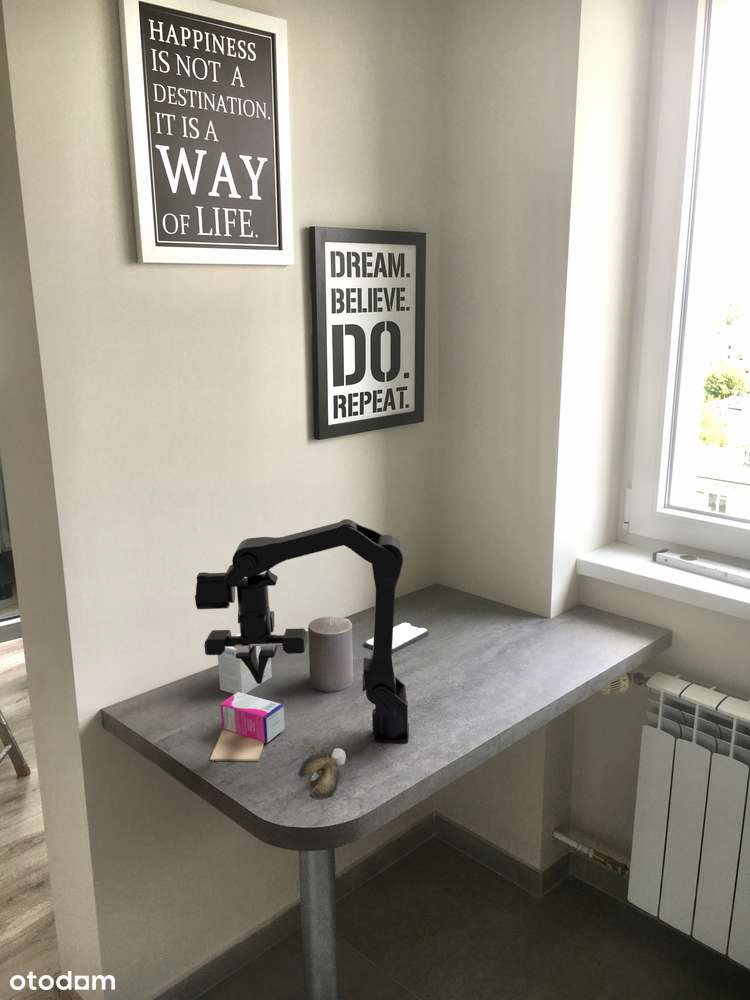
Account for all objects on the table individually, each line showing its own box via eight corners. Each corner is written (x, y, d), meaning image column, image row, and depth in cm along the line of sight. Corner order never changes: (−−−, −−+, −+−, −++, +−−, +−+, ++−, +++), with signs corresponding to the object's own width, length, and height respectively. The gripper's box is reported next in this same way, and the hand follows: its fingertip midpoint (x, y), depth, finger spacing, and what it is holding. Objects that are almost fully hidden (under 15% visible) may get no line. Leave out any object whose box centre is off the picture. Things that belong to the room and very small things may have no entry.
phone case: (389, 658, 198) (431, 635, 210) (389, 651, 198) (431, 629, 209) (362, 648, 204) (404, 626, 215) (361, 642, 204) (404, 621, 215)
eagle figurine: (300, 762, 152) (287, 782, 143) (321, 731, 151) (310, 749, 142) (334, 787, 152) (324, 808, 143) (355, 756, 151) (347, 775, 142)
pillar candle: (300, 682, 185) (298, 620, 181) (332, 667, 192) (330, 607, 188) (331, 697, 179) (329, 632, 175) (362, 681, 186) (361, 618, 182)
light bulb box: (249, 671, 192) (247, 627, 189) (273, 677, 188) (270, 632, 186) (218, 690, 183) (215, 644, 180) (242, 697, 179) (239, 650, 177)
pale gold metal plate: (271, 722, 169) (271, 720, 168) (258, 761, 155) (258, 759, 155) (227, 722, 169) (226, 720, 169) (210, 760, 155) (210, 758, 155)
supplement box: (285, 731, 165) (239, 715, 170) (284, 704, 163) (238, 689, 169) (267, 745, 160) (220, 729, 166) (265, 717, 158) (219, 702, 164)
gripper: (308, 590, 164) (312, 663, 168) (213, 592, 165) (220, 665, 169) (301, 611, 153) (306, 689, 157) (200, 613, 154) (207, 691, 158)
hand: (259, 682), depth 160 cm, fingers closed
